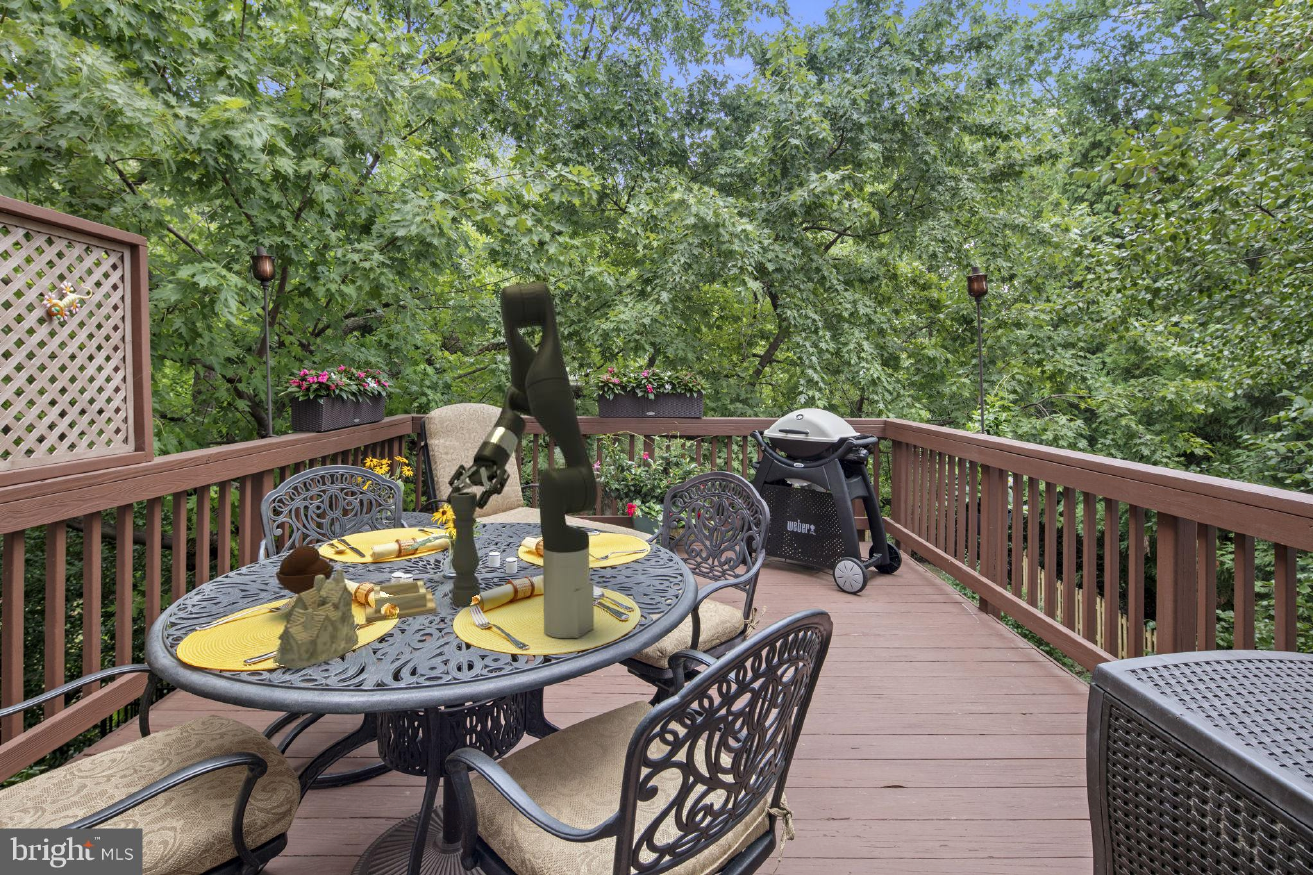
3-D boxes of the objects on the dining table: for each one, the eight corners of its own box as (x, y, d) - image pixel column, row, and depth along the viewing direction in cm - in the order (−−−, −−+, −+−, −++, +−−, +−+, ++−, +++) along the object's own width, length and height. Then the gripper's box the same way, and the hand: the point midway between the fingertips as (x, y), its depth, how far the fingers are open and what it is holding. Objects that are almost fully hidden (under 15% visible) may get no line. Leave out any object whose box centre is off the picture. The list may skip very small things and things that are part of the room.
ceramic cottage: (323, 625, 133) (317, 555, 130) (375, 644, 125) (370, 570, 122) (244, 658, 119) (236, 581, 117) (298, 681, 111) (290, 599, 109)
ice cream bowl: (346, 607, 144) (343, 541, 142) (299, 624, 133) (296, 553, 132) (313, 600, 148) (310, 536, 147) (266, 616, 138) (263, 547, 137)
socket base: (436, 612, 140) (435, 594, 140) (366, 622, 135) (365, 603, 134) (430, 593, 153) (429, 576, 153) (365, 601, 147) (365, 584, 147)
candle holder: (472, 607, 143) (469, 496, 141) (446, 605, 145) (444, 495, 143) (485, 598, 150) (482, 492, 147) (460, 596, 151) (458, 491, 149)
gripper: (465, 438, 155) (431, 493, 146) (513, 441, 149) (480, 498, 139) (480, 458, 160) (448, 512, 151) (527, 461, 154) (496, 517, 145)
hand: (464, 505), depth 145 cm, fingers open, 8 cm apart
